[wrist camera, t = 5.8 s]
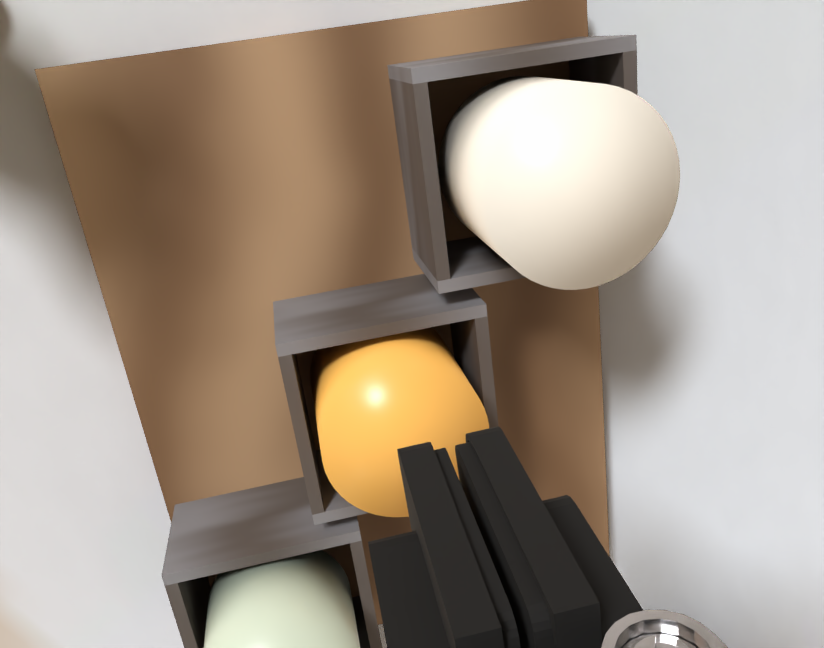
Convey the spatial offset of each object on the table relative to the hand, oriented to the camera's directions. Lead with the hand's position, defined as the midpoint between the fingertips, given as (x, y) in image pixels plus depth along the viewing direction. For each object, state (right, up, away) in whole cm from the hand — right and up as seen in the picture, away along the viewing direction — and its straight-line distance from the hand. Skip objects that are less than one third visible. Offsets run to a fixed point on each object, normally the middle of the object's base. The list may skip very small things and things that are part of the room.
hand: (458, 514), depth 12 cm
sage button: (-5, -7, +15) cm, 17 cm away
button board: (-2, +2, +16) cm, 16 cm away
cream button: (+3, +8, +11) cm, 14 cm away
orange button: (-2, +1, +14) cm, 15 cm away
